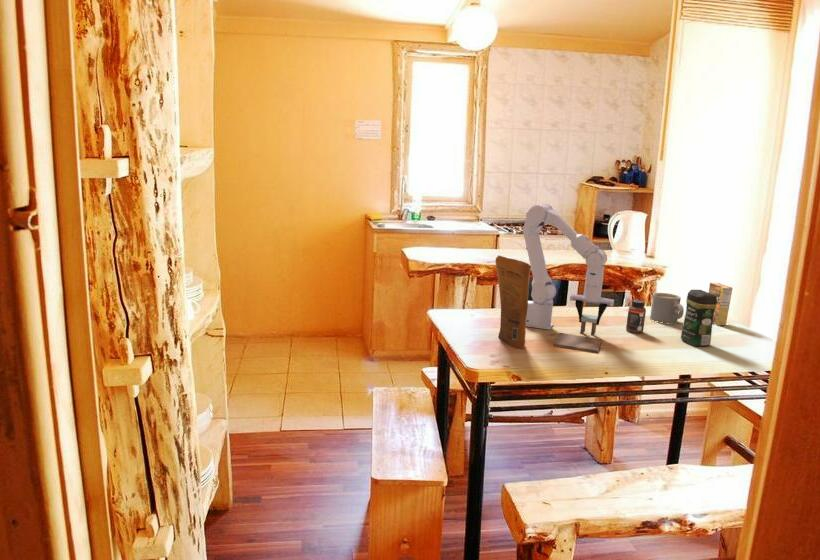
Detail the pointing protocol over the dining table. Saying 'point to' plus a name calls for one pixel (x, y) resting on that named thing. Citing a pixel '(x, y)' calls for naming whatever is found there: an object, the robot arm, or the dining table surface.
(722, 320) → the candy box
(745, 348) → the dining table surface
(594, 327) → the stool
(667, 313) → the coffee mug
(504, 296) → the pancake mix bag
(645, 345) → the dining table surface
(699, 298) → the coffee jar
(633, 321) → the supplement bottle
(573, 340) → the walnut board
